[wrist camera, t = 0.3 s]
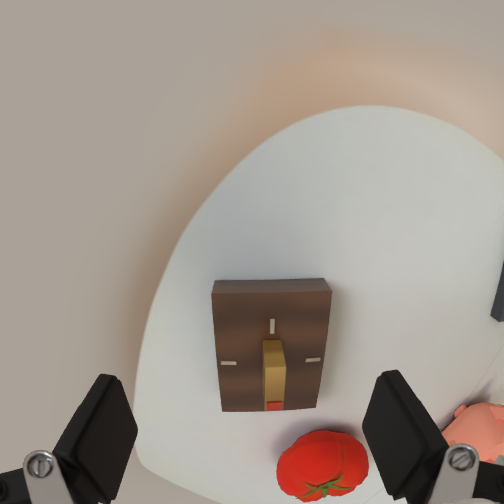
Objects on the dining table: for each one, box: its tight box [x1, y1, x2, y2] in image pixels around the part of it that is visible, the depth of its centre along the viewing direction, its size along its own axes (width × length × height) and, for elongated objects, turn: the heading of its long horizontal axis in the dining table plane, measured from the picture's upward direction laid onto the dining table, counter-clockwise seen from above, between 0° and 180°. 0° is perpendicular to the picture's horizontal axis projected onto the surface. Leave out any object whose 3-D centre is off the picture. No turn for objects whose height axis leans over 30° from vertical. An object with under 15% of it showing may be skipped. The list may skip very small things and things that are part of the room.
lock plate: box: [211, 278, 332, 412], centre depth 27 cm, size 14×10×3 cm
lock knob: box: [262, 340, 286, 411], centre depth 23 cm, size 5×2×4 cm, turn 1°
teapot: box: [440, 403, 504, 464], centre depth 29 cm, size 16×17×14 cm
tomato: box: [276, 430, 369, 502], centre depth 29 cm, size 14×13×9 cm
